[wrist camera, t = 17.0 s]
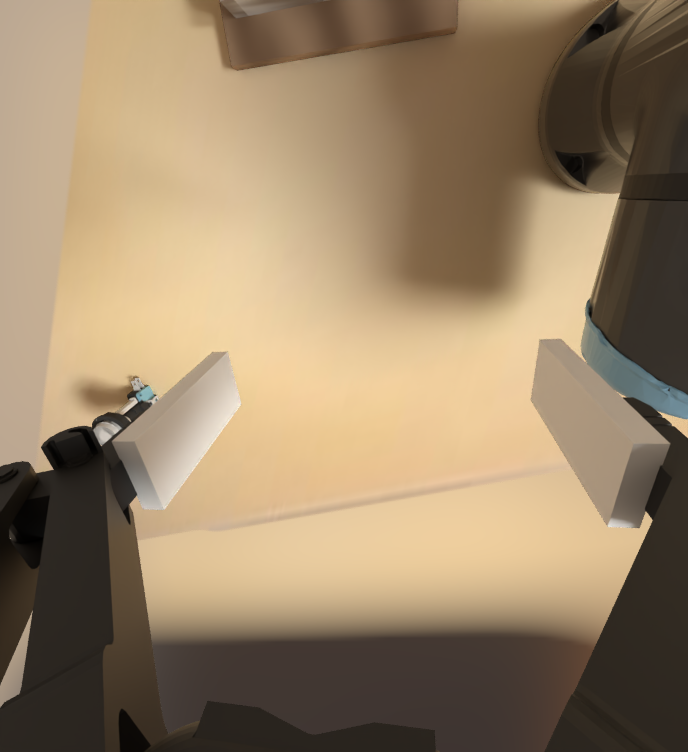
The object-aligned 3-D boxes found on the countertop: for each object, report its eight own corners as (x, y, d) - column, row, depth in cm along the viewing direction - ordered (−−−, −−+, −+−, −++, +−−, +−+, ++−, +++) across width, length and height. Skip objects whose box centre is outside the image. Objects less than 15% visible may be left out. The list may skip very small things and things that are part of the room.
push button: (124, 378, 56) (73, 414, 48) (154, 374, 55) (108, 409, 46) (143, 415, 59) (99, 455, 50) (172, 411, 58) (131, 451, 49)
